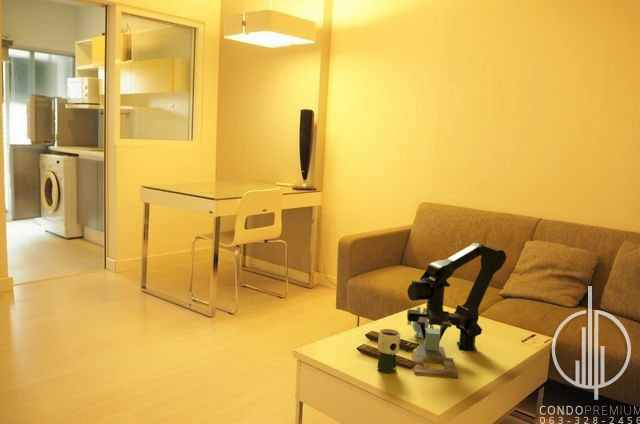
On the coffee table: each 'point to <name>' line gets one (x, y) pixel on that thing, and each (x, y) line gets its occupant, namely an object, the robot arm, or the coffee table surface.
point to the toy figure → (417, 326)
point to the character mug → (388, 349)
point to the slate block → (432, 339)
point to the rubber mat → (430, 351)
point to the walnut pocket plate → (448, 372)
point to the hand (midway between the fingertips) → (431, 340)
